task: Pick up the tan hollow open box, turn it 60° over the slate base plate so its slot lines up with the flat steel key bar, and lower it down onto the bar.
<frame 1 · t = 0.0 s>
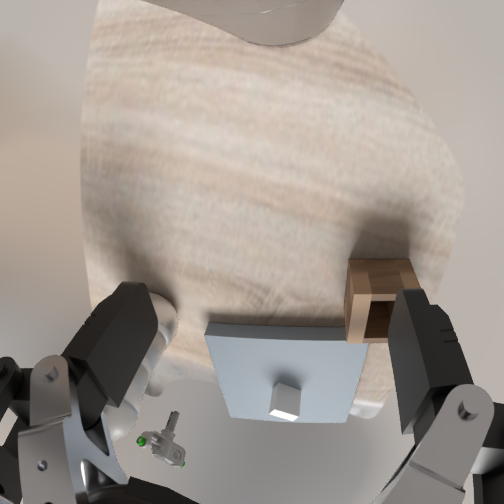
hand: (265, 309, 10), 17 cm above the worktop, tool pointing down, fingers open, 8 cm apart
tan hollow open box: (375, 284, 29), on the worktop
plastic bottle: (158, 305, 36), on the worktop
mechanical component: (175, 411, 52), on the worktop
key post: (288, 377, 39), on the worktop
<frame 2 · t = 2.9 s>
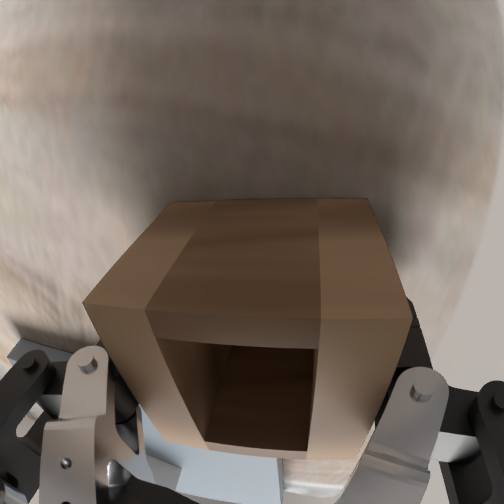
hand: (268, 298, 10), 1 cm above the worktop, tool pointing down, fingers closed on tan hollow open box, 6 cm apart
tan hollow open box: (271, 282, 11), on the worktop, touching gripper
key post: (166, 441, 20), on the worktop
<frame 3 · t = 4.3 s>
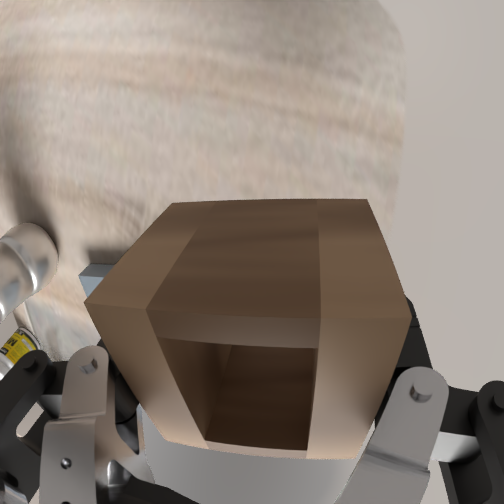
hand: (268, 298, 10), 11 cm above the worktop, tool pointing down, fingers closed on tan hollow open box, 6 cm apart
tan hollow open box: (271, 282, 11), point 11 cm above the worktop, touching gripper
plastic bottle: (44, 243, 27), on the worktop
supplement bottle: (30, 337, 37), on the worktop
key post: (198, 353, 29), on the worktop
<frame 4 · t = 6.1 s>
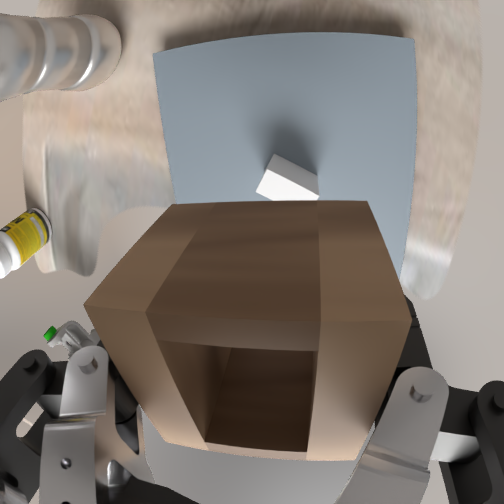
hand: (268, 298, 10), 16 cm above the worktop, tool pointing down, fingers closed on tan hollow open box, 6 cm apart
tan hollow open box: (271, 283, 11), point 15 cm above the worktop, touching gripper
plastic bottle: (101, 52, 20), on the worktop
mechanical component: (119, 310, 35), on the worktop
supplement bottle: (40, 224, 31), on the worktop
key post: (292, 166, 23), on the worktop
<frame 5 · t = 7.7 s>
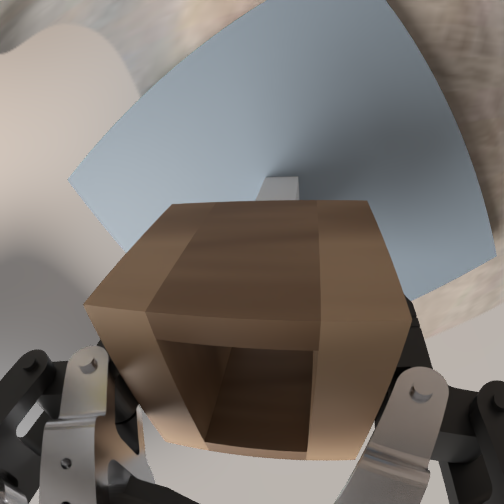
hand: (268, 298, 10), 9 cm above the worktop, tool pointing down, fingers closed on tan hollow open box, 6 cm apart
tan hollow open box: (271, 283, 11), point 8 cm above the worktop, touching gripper
key post: (286, 195, 17), on the worktop
when the fingers open (4 cm above the worktop, at t = 9.3 s): tan hollow open box drops 1 cm, resting on key post.
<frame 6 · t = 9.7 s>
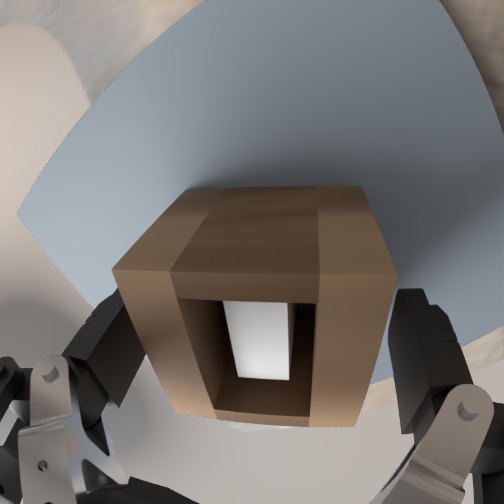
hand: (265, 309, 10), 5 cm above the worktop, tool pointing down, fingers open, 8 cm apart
tan hollow open box: (275, 263, 12), point 2 cm above the worktop, touching key post
key post: (279, 238, 13), on the worktop
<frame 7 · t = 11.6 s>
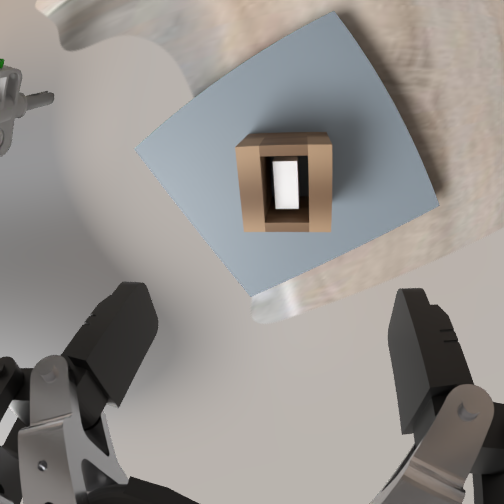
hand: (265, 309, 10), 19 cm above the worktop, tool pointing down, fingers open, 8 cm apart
tan hollow open box: (289, 169, 24), point 2 cm above the worktop, touching key post
mechanical component: (50, 97, 25), on the worktop
key post: (290, 163, 26), on the worktop
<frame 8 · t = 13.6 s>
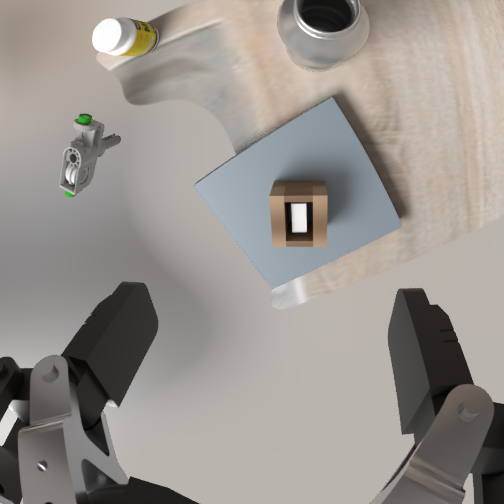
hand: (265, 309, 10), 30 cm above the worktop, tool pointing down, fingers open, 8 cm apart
tan hollow open box: (300, 204, 37), point 2 cm above the worktop, touching key post
plastic bottle: (316, 46, 29), on the worktop
mechanical component: (116, 138, 39), on the worktop
supplement bottle: (143, 39, 31), on the worktop
key post: (300, 198, 39), on the worktop
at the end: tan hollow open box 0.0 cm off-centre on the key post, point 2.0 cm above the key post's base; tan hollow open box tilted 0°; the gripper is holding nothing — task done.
